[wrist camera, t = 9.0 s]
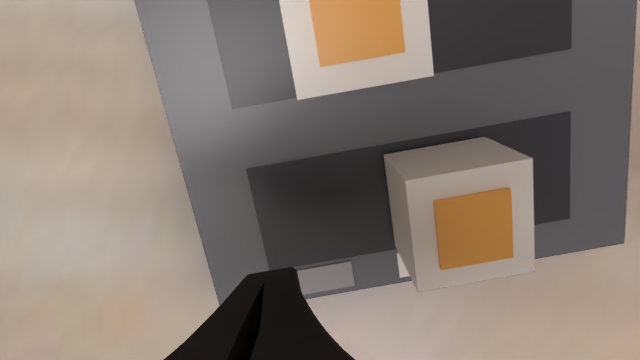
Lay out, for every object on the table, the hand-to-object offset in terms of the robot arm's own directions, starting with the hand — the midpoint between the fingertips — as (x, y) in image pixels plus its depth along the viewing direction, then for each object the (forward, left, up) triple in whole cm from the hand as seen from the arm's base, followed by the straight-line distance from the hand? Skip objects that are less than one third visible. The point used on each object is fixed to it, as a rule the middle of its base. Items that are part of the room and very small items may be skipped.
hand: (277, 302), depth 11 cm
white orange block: (-6, 0, -6) cm, 8 cm away
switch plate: (-5, -4, -7) cm, 10 cm away
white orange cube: (-3, -7, -6) cm, 10 cm away
